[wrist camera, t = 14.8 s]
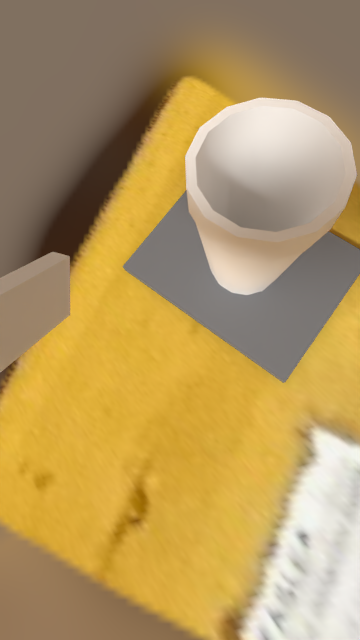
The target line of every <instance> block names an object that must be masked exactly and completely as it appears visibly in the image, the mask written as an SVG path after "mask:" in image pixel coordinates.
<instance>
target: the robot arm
mask: <svg viewBox="0 0 360 640" xmlns="http://www.w3.org/2000/svg"><path fill="white" fill-rule="evenodd" d="M69 315H70V256H66V255H63V254H59V253H55V252H51V253H49V254H47V255H46V256H43V257H41V258H40V259H37V260H35V261H33V262H31V263H29V264H27V265H25V266H23V267H21V268H19V269H17V270H16V271H13V272H11V273H9V274H7V275H5V276H3V277H1V278H0V372H1V371H3V369H5V368H6V367H7V366H9V365H10V364H11V363H12V362H13V361H15V360H16V359H17V358H18V357H19V356H21V355H22V354H23V353H24V352H26V351H27V350H28V349H29V348H30V347H32V346H33V345H34V344H35V343H36V342H38V341H39V340H40V339H41V338H42V337H44V336H45V335H46V334H47V333H48V332H50V331H51V330H52V329H53V328H55V327H56V326H57V325H58V324H59V323H61V322H62V321H63V320H64V319H65V318H67V317H68V316H69Z"/></svg>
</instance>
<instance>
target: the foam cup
mask: <svg viewBox="0 0 360 640" xmlns="http://www.w3.org/2000/svg"><path fill="white" fill-rule="evenodd" d="M185 163H186V188H187V199H188V209H189V213H190V214H191V216H192V218H193V219H194V221H195V223H196V225H197V229H198V232H199V235H200V238H201V241H202V244H203V247H204V251H205V254H206V257H207V260H208V263H209V266H210V269H211V272H212V274H213V275H214V277H215V279H216V280H217V282H218V284H219V285H221V286H222V287H224V288H225V289H227V290H228V291H230V292H231V293H237V294H243V295H250V294H253V293H257V292H261V291H263V290H264V289H265V288H267V287H268V286H269V285H270V284H271V283H272V282H274V281H275V280H276V279H277V278H278V277H279V276H280V275H281V274H282V273H283V272H284V271H285V270H286V269H287V268H288V267H289V266H290V265H291V264H292V263H293V262H294V261H295V260H296V259H297V258H298V257H299V256H300V255H301V254H302V253H303V252H305V251H306V250H307V249H308V248H309V247H311V246H312V245H313V244H314V243H315V242H316V241H318V240H319V239H320V238H321V237H322V236H323V235H325V234H326V233H327V232H328V231H329V230H330V229H331V228H332V226H333V225H334V223H335V222H336V220H337V219H338V217H339V216H340V214H341V213H342V211H343V210H344V208H345V206H346V204H347V201H348V198H349V196H350V193H351V190H352V188H353V185H354V182H355V180H356V177H357V172H356V167H355V161H354V156H353V150H352V145H351V142H350V141H349V140H348V138H347V137H346V136H345V135H344V134H343V132H342V131H341V130H340V129H339V128H338V127H337V125H336V124H335V123H334V122H333V121H332V119H331V118H330V117H329V116H327V115H325V114H323V113H321V112H319V111H317V110H315V109H313V108H311V107H309V106H307V105H305V104H303V103H301V102H299V101H294V100H282V99H271V98H258V99H254V100H251V101H247V102H243V103H240V104H236V105H232V106H229V107H226V108H225V109H223V110H222V111H221V112H220V113H218V114H217V115H216V116H214V117H213V118H212V119H210V120H209V121H208V122H206V123H205V124H204V125H203V126H201V127H200V128H199V130H198V132H197V134H196V136H195V138H194V140H193V142H192V144H191V146H190V148H189V150H188V152H187V154H186V156H185Z"/></svg>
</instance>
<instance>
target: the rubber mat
mask: <svg viewBox="0 0 360 640" xmlns="http://www.w3.org/2000/svg"><path fill="white" fill-rule="evenodd" d="M123 268H124V269H125V270H126V271H127V272H128V273H130V274H131V275H133V276H134V277H136V278H137V279H138V280H140V281H141V282H143V283H144V284H145V285H147V286H148V287H150V288H151V289H152V290H154V291H155V292H157V293H158V294H159V295H161V296H162V297H164V298H165V299H166V300H168V301H169V302H171V303H172V304H173V305H175V306H176V307H178V308H179V309H180V310H182V311H183V312H185V313H186V314H188V315H189V316H190V317H192V318H193V319H195V320H196V321H197V322H199V323H200V324H202V325H203V326H204V327H206V328H207V329H209V330H210V331H211V332H213V333H214V334H216V335H217V336H218V337H220V338H221V339H223V340H224V341H225V342H227V343H228V344H230V345H231V346H232V347H234V348H235V349H237V350H238V351H240V352H241V353H242V354H244V355H245V356H247V357H248V358H249V359H251V360H252V361H254V362H255V363H256V364H258V365H259V366H261V367H262V368H263V369H265V370H266V371H268V372H269V373H270V374H272V375H273V376H275V377H276V378H277V379H279V380H280V381H282V382H283V383H284V382H286V380H287V379H288V377H289V376H290V374H291V373H292V371H293V370H294V369H295V367H296V366H297V364H298V363H299V361H300V360H301V358H302V357H303V355H304V354H305V353H306V351H307V350H308V348H309V347H310V345H311V344H312V342H313V341H314V339H315V338H316V337H317V335H318V334H319V332H320V331H321V329H322V328H323V326H324V325H325V324H326V322H327V321H328V319H329V318H330V316H331V315H332V313H333V312H334V310H335V309H336V308H337V306H338V305H339V303H340V302H341V300H342V299H343V297H344V296H345V294H346V293H347V292H348V290H349V289H350V287H351V286H352V284H353V283H354V281H355V280H356V278H357V277H358V276H359V274H360V249H358V248H357V247H355V246H353V245H351V244H350V243H348V242H346V241H345V240H343V239H341V238H339V237H338V236H336V235H334V234H332V233H331V232H329V231H328V232H327V233H326V234H325V235H323V236H322V237H321V238H320V239H319V240H318V241H316V242H315V243H314V244H313V245H312V246H311V247H309V248H308V249H307V250H306V251H305V252H303V253H302V254H301V255H300V256H299V257H298V258H297V259H296V260H295V261H294V262H293V263H292V264H291V265H290V266H289V267H288V268H287V269H286V270H285V271H284V272H283V273H282V274H281V275H280V276H279V277H278V278H277V279H276V280H275V281H274V282H272V283H271V284H270V285H269V286H268V287H267V288H265V289H264V290H263V291H261V292H257V293H253V294H250V295H243V294H237V293H231V292H230V291H228V290H227V289H225V288H224V287H222V286H221V285H219V284H218V282H217V280H216V279H215V277H214V275H213V274H212V272H211V269H210V266H209V263H208V260H207V257H206V254H205V251H204V247H203V244H202V241H201V238H200V235H199V232H198V229H197V225H196V223H195V221H194V219H193V218H192V216H191V214H190V213H189V209H188V199H187V190H186V191H185V193H184V194H183V195H182V196H181V197H180V199H179V200H178V201H177V202H176V203H175V205H174V206H173V207H172V208H171V209H170V211H169V212H168V213H167V214H166V215H165V217H164V218H163V219H162V220H161V221H160V223H159V224H158V225H157V226H156V227H155V229H154V230H153V231H152V232H151V233H150V235H149V236H148V237H147V238H146V239H145V240H144V242H143V243H142V244H141V245H140V246H139V248H138V249H137V250H136V251H135V252H134V254H133V255H132V256H131V257H130V258H129V260H128V261H127V262H126V263H125V264H124V266H123Z"/></svg>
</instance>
